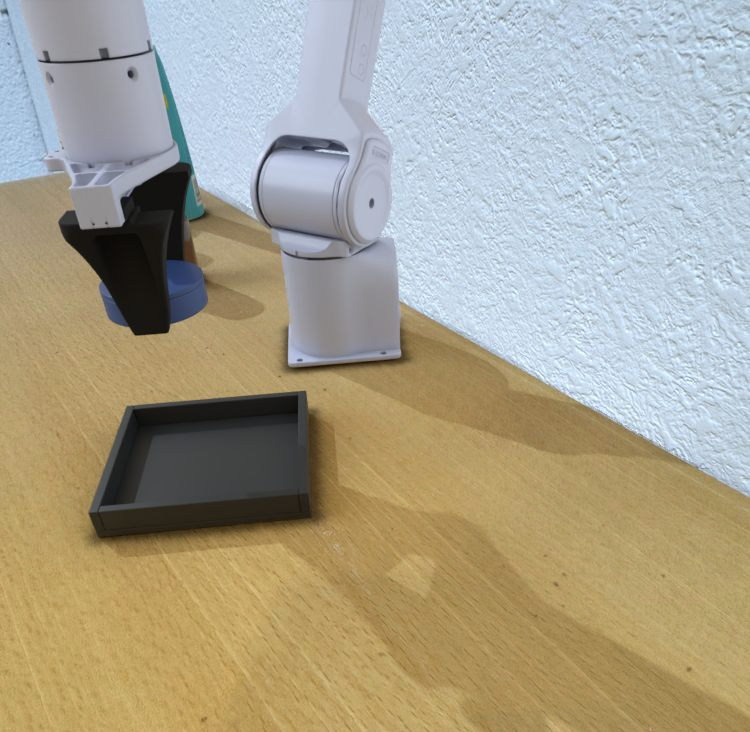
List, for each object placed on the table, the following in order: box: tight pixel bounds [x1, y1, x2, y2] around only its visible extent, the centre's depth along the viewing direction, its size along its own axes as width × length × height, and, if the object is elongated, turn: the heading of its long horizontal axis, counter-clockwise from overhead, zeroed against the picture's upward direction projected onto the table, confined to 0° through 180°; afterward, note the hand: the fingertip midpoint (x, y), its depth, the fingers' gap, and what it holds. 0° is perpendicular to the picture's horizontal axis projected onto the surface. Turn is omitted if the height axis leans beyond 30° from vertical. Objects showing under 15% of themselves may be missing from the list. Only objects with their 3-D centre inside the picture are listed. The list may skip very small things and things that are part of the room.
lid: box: [98, 260, 209, 328], centre depth 43 cm, size 6×6×2 cm
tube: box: [152, 44, 205, 221], centre depth 85 cm, size 7×5×19 cm, turn 31°
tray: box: [88, 390, 313, 538], centre depth 47 cm, size 13×12×2 cm
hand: (161, 308), depth 44 cm, fingers closed on lid, 6 cm apart
